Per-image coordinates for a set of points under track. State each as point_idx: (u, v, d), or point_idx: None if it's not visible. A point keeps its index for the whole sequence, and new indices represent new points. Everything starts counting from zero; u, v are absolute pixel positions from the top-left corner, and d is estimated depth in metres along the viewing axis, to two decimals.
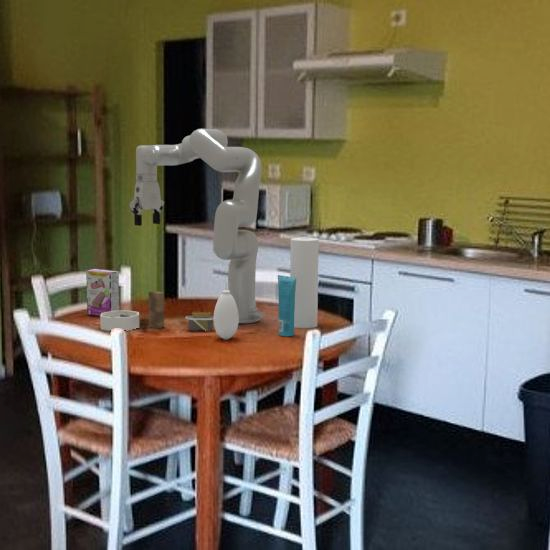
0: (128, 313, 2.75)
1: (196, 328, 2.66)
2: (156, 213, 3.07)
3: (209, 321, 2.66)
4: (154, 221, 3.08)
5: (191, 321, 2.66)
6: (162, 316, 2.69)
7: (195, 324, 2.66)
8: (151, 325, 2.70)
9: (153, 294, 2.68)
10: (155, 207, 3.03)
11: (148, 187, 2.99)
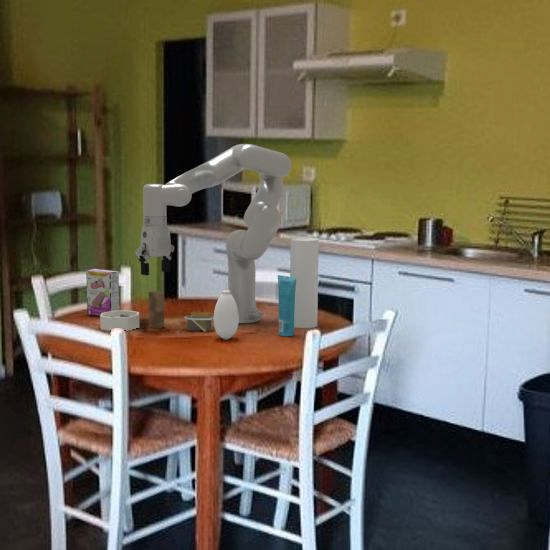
0: (128, 313, 2.75)
1: (195, 328, 2.66)
2: (165, 260, 2.70)
3: (208, 321, 2.66)
4: (163, 269, 2.71)
5: (190, 321, 2.66)
6: (162, 316, 2.69)
7: (194, 324, 2.66)
8: (151, 325, 2.70)
9: (153, 294, 2.68)
10: (164, 254, 2.66)
11: (157, 231, 2.63)
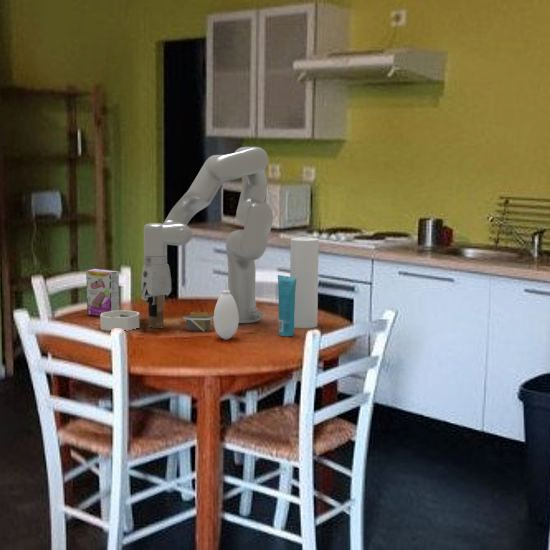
0: (128, 313, 2.75)
1: (194, 328, 2.66)
2: None
3: (207, 321, 2.66)
4: None
5: (189, 321, 2.66)
6: (161, 316, 2.69)
7: (193, 324, 2.66)
8: (150, 325, 2.70)
9: None
10: (165, 292, 2.68)
11: (157, 271, 2.64)
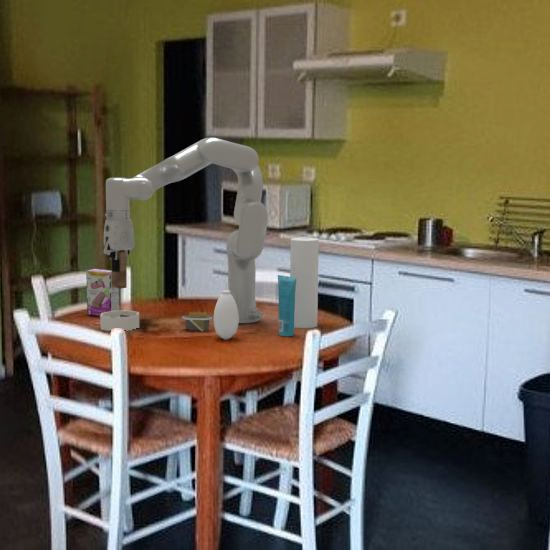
0: (128, 313, 2.75)
1: (193, 328, 2.67)
2: None
3: (205, 321, 2.66)
4: None
5: (188, 321, 2.66)
6: (124, 276, 2.67)
7: (192, 324, 2.66)
8: (113, 284, 2.68)
9: None
10: (128, 247, 2.66)
11: (120, 225, 2.62)
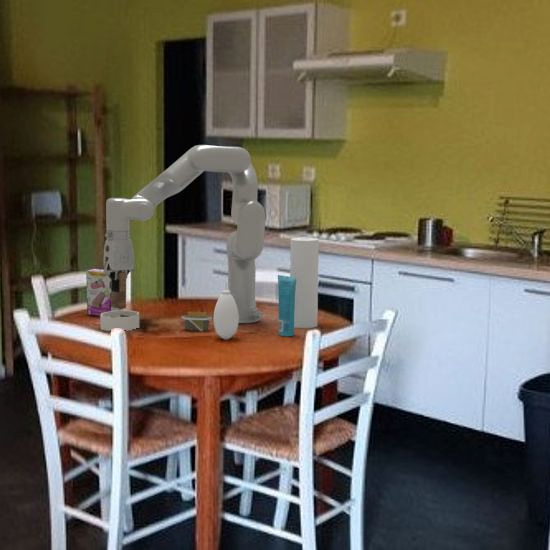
0: (128, 313, 2.75)
1: (192, 328, 2.67)
2: None
3: (205, 321, 2.66)
4: None
5: (187, 321, 2.66)
6: (124, 296, 2.68)
7: (191, 324, 2.66)
8: (113, 305, 2.69)
9: None
10: (127, 268, 2.67)
11: (120, 245, 2.63)
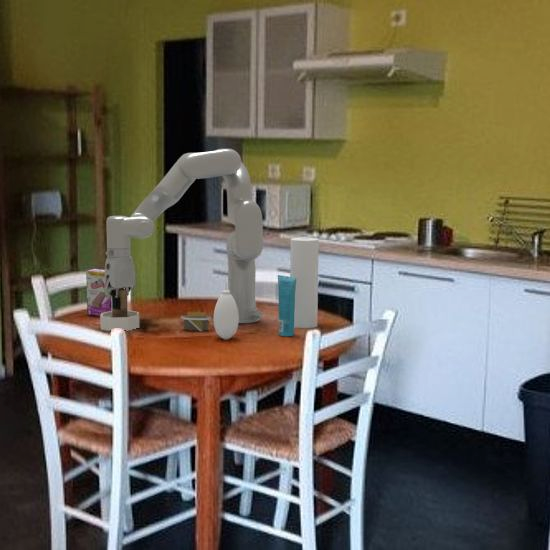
0: (128, 313, 2.75)
1: (191, 328, 2.67)
2: None
3: (204, 321, 2.66)
4: None
5: (186, 321, 2.66)
6: (125, 313, 2.69)
7: (190, 324, 2.66)
8: None
9: None
10: (128, 285, 2.68)
11: (120, 263, 2.64)
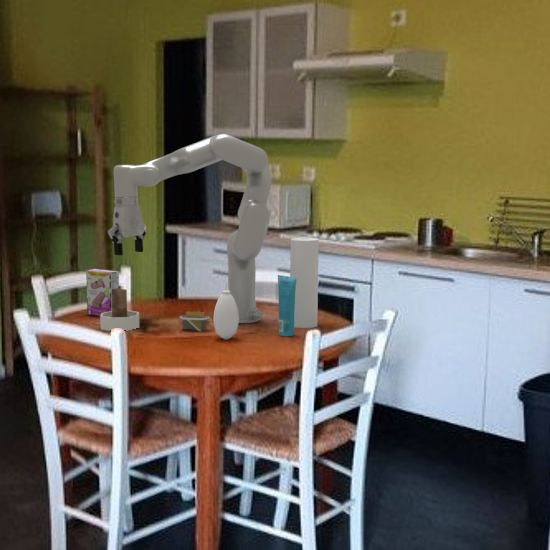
0: (128, 313, 2.75)
1: (190, 328, 2.67)
2: (138, 240, 2.74)
3: (203, 321, 2.66)
4: (136, 249, 2.75)
5: (185, 321, 2.67)
6: (125, 313, 2.69)
7: (189, 324, 2.67)
8: None
9: (116, 291, 2.68)
10: (137, 234, 2.70)
11: (129, 212, 2.66)
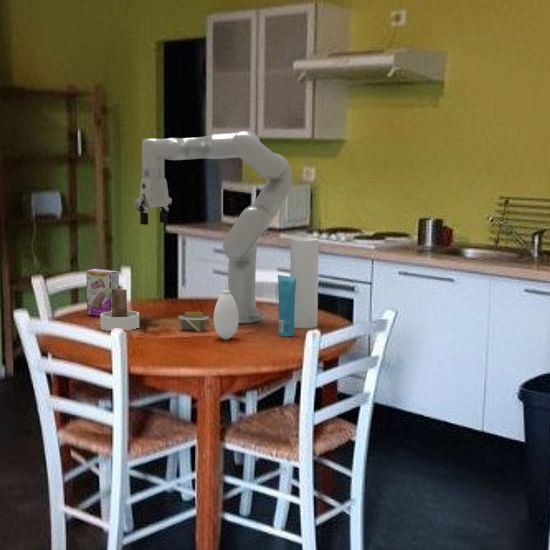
0: (128, 313, 2.75)
1: (189, 328, 2.67)
2: (163, 211, 2.86)
3: (202, 321, 2.66)
4: (161, 220, 2.87)
5: (184, 320, 2.67)
6: (125, 313, 2.69)
7: (188, 324, 2.67)
8: None
9: (116, 291, 2.68)
10: (162, 205, 2.82)
11: (155, 183, 2.78)
